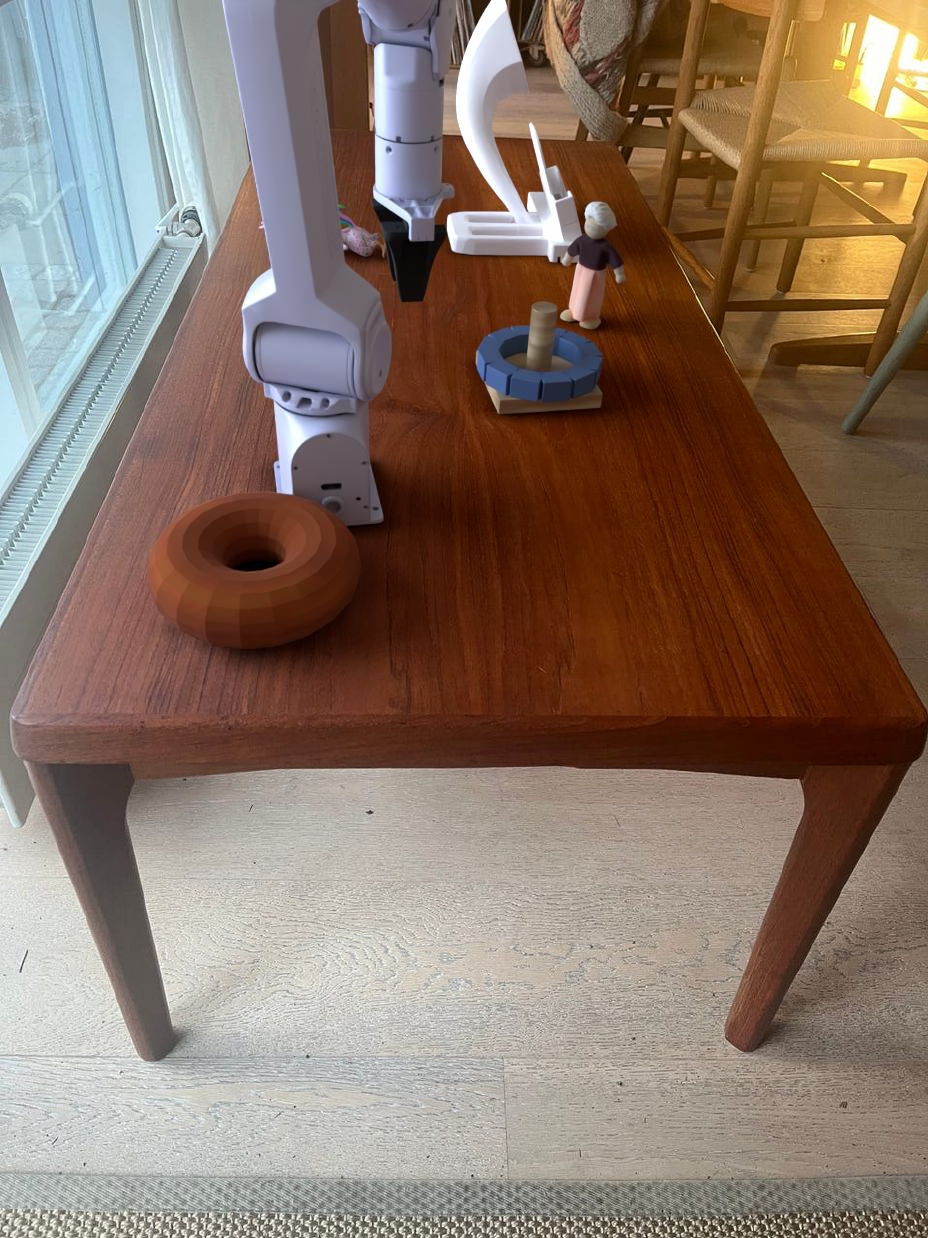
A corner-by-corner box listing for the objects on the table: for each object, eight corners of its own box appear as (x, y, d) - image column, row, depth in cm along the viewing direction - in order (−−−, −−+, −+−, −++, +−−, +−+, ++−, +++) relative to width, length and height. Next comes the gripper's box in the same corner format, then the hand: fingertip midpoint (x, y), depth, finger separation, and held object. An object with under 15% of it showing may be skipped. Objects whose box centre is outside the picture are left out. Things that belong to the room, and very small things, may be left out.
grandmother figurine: (545, 319, 106) (559, 199, 98) (559, 307, 109) (574, 189, 100) (611, 337, 104) (631, 216, 95) (624, 324, 106) (644, 204, 98)
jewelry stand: (581, 262, 118) (612, 26, 102) (454, 262, 117) (464, 22, 100) (547, 191, 137) (568, -18, 120) (436, 190, 135) (442, -23, 118)
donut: (390, 555, 74) (390, 500, 71) (313, 687, 64) (309, 631, 60) (213, 514, 77) (205, 460, 74) (111, 635, 66) (95, 578, 63)
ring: (615, 397, 91) (618, 377, 90) (494, 406, 89) (496, 386, 87) (577, 340, 99) (579, 321, 98) (466, 347, 97) (467, 328, 96)
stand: (600, 407, 92) (613, 328, 87) (498, 414, 91) (505, 333, 85) (570, 358, 100) (580, 282, 94) (475, 363, 98) (480, 286, 93)
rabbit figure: (384, 254, 121) (262, 229, 119) (392, 206, 117) (266, 179, 115) (382, 274, 116) (255, 249, 114) (390, 225, 112) (258, 197, 110)
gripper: (473, 160, 78) (465, 321, 87) (439, 108, 88) (435, 257, 97) (385, 161, 76) (386, 325, 85) (361, 109, 87) (364, 259, 96)
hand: (407, 289), depth 91 cm, fingers open, 4 cm apart
